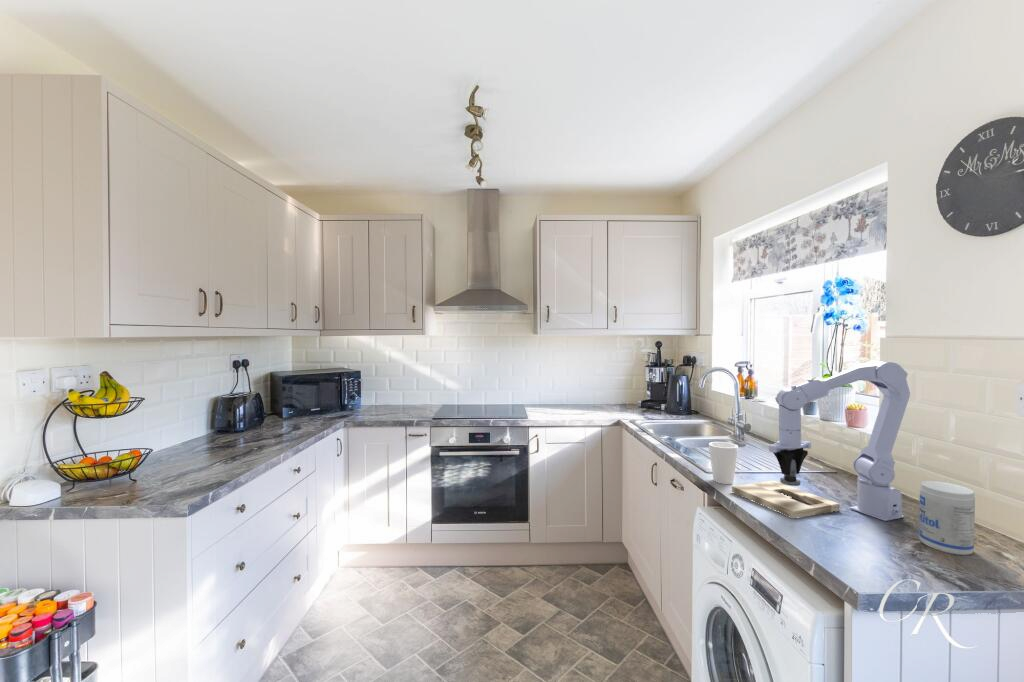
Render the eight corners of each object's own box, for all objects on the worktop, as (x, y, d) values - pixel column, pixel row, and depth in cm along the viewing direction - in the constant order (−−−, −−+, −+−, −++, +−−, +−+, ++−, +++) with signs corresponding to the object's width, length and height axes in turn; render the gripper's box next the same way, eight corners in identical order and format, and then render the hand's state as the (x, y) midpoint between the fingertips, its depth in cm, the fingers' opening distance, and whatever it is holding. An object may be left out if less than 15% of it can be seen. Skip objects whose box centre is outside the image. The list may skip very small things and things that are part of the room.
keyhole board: (839, 510, 128) (839, 503, 128) (793, 518, 123) (793, 511, 123) (773, 486, 149) (773, 480, 149) (732, 492, 144) (732, 486, 144)
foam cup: (735, 487, 149) (735, 449, 148) (706, 482, 154) (706, 445, 154) (740, 480, 156) (740, 444, 156) (712, 475, 162) (712, 440, 162)
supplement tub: (908, 538, 110) (908, 480, 110) (942, 536, 111) (942, 479, 111) (950, 557, 101) (950, 494, 101) (986, 555, 102) (987, 492, 102)
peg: (804, 484, 131) (804, 459, 131) (792, 486, 129) (791, 461, 129) (788, 479, 136) (788, 455, 136) (776, 481, 134) (775, 457, 134)
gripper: (795, 424, 138) (796, 467, 138) (760, 428, 134) (760, 472, 134) (817, 429, 132) (817, 474, 132) (780, 432, 127) (781, 479, 127)
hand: (790, 473), depth 132 cm, fingers closed on peg, 3 cm apart
